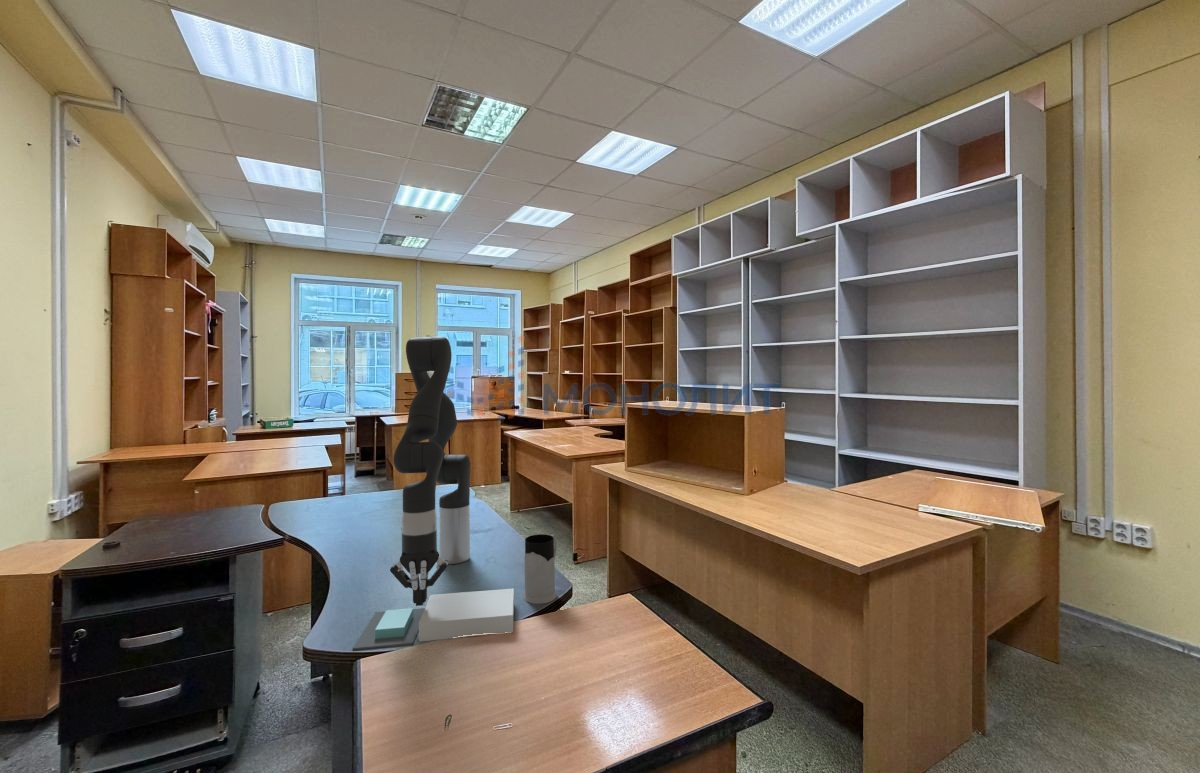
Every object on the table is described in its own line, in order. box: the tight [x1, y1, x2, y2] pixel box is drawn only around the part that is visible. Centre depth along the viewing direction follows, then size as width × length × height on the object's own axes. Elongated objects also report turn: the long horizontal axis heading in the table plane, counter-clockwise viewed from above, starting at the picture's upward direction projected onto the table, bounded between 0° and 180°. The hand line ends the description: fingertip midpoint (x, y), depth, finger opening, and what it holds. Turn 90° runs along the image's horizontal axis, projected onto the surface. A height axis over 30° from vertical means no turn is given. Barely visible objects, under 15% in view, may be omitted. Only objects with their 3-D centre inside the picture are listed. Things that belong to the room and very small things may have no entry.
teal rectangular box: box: [375, 607, 414, 639], centre depth 107 cm, size 9×6×2 cm, turn 10°
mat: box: [352, 607, 425, 651], centre depth 108 cm, size 16×12×1 cm
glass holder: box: [522, 533, 558, 605], centre depth 126 cm, size 9×14×15 cm, turn 160°
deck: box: [418, 588, 515, 642], centre depth 110 cm, size 14×20×4 cm
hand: (419, 604), depth 109 cm, fingers closed
